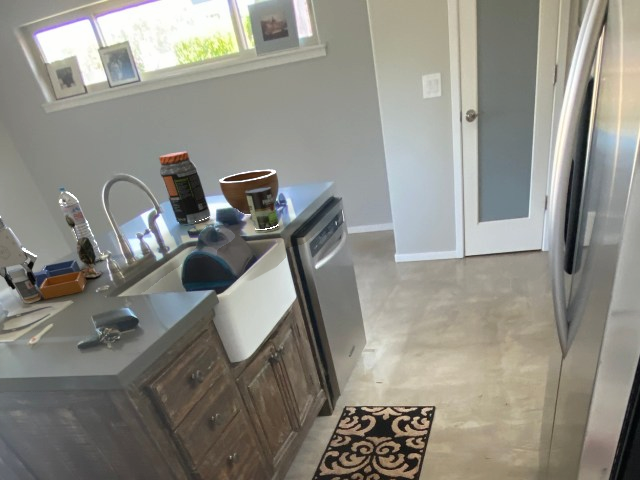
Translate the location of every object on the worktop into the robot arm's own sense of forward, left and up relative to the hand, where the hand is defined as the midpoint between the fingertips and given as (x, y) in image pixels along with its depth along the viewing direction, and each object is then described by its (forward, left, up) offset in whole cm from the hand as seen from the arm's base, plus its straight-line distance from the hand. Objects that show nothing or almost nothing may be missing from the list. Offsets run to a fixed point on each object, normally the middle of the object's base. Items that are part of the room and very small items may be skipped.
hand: (24, 285), depth 169 cm
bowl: (+85, +65, -5) cm, 107 cm away
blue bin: (+6, +25, -5) cm, 26 cm away
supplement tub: (+57, +79, -5) cm, 98 cm away
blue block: (+2, +15, -5) cm, 16 cm away
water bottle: (+16, +40, -5) cm, 43 cm away
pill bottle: (0, 0, -5) cm, 5 cm away
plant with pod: (+18, +17, -5) cm, 25 cm away
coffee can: (+85, +34, -5) cm, 92 cm away
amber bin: (+10, +5, -5) cm, 12 cm away
